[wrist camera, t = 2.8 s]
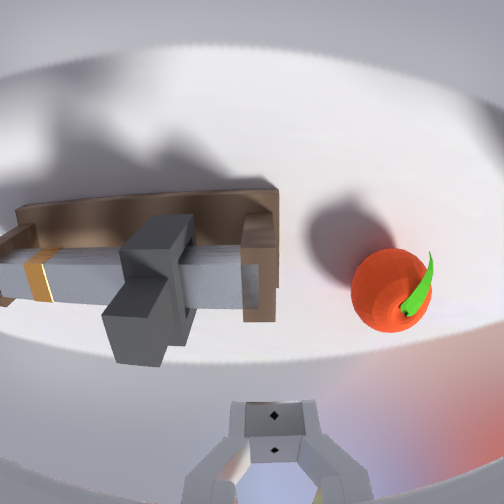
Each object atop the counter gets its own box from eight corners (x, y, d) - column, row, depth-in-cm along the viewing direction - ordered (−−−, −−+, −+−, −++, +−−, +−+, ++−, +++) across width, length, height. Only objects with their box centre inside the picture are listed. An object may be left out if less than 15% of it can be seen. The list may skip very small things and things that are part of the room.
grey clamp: (194, 213, 22) (146, 284, 13) (201, 293, 25) (171, 390, 15) (153, 215, 22) (86, 282, 13) (164, 293, 25) (120, 385, 16)
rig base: (278, 189, 25) (285, 221, 17) (277, 279, 28) (282, 340, 21) (23, 205, 26) (-33, 235, 18) (41, 277, 29) (-5, 319, 22)
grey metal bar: (258, 243, 21) (258, 263, 18) (259, 285, 23) (259, 310, 20) (5, 248, 22) (-16, 263, 19) (15, 280, 23) (-5, 296, 21)
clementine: (379, 211, 26) (414, 241, 19) (431, 249, 27) (470, 285, 20) (327, 285, 29) (344, 332, 22) (382, 314, 30) (406, 361, 23)
